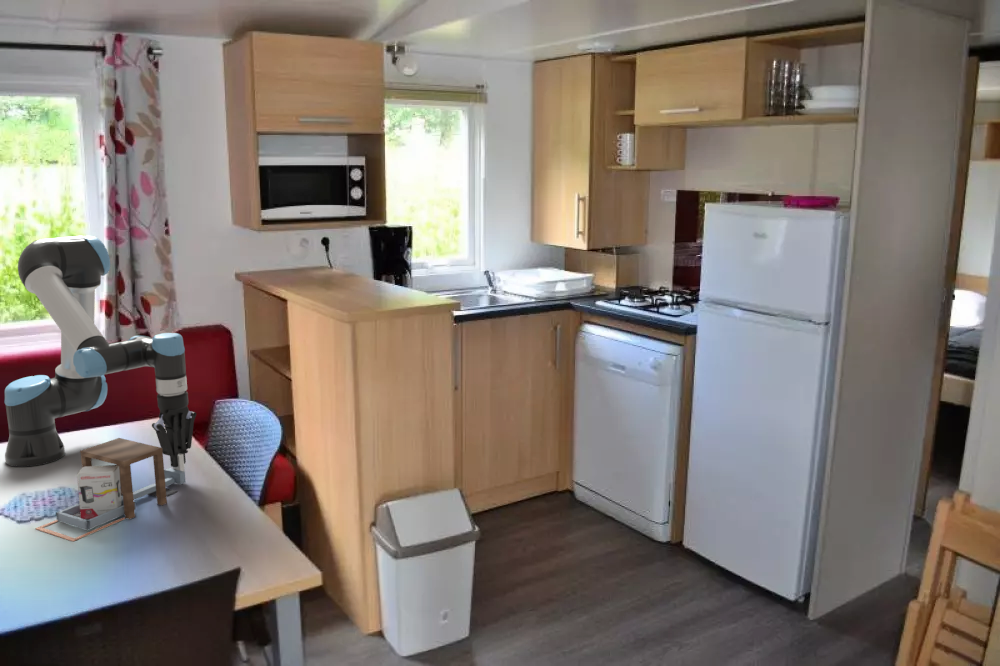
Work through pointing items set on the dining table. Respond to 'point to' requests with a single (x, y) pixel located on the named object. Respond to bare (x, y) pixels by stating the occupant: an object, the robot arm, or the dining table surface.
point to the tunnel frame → (128, 466)
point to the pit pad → (168, 492)
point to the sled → (68, 518)
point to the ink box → (98, 490)
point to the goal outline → (72, 537)
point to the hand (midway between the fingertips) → (179, 476)
